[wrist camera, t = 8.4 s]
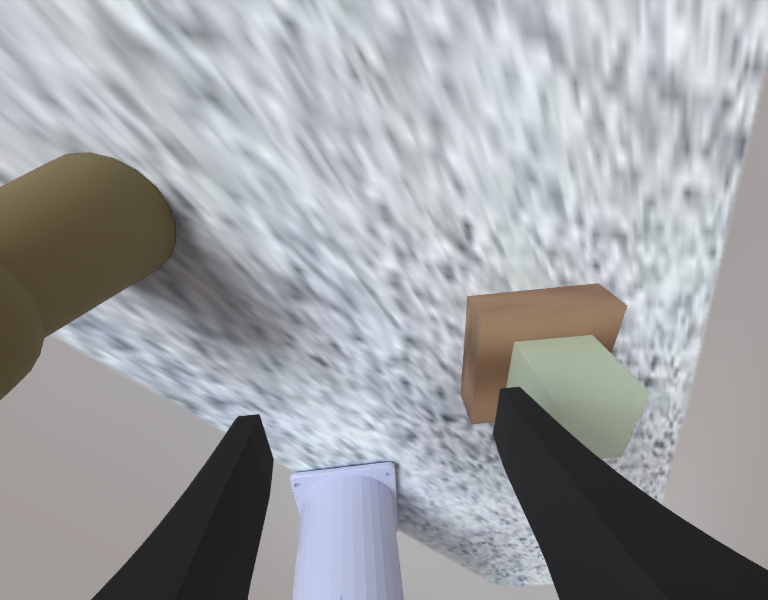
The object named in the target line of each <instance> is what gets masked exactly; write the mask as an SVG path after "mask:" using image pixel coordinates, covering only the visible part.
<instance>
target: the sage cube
mask: <svg viewBox="0 0 768 600" xmlns="http://www.w3.org/2000/svg"><path fill="white" fill-rule="evenodd" d="M510 387H521V388H522V389H523V390H524V391H525V392H526V393H527V394H528V395H529V396H530V397H532V398H533V399H534V400H535V401H536V402H537V403H538V404H539V405H540V406H541V407H542V408H543V409H544V410H545V411H546V412H548V413H549V414H550V415H551V416H552V417H553V418H554V419H555V420H556V421H557V422H558V423H560V424H561V425H562V426H563V427H564V428H565V429H566V430H567V431H568V432H570V433H571V434H572V435H573V436H574V437H575V438H576V439H578V440H579V441H580V442H581V443H582V444H583V445H584V446H586V447H587V448H588V449H589V450H590V451H592V452H593V453H594V454H595V455H596V456H598V457H599V458H600V459H604V458H613V457H621V456H622V455H623V452H624V450H625V448H626V446H627V444H628V441H629V439H630V437H631V435H632V432H633V430H634V428H635V426H636V423H637V421H638V419H639V417H640V414H641V412H642V410H643V408H644V406H645V403H646V401H647V399H648V397H649V394H650V392H649V391H648V390H647V389H646V388H645V387H644V386H643V385H642V384H641V383H640V382H639V381H638V380H637V379H636V378H635V377H634V376H633V375H632V374H631V373H630V372H629V371H628V370H627V369H626V368H625V367H624V366H623V365H622V364H621V363H620V362H619V361H618V360H617V359H616V358H615V357H614V356H613V355H612V354H611V353H610V352H609V351H608V350H607V349H606V348H605V347H604V346H603V345H602V344H601V343H600V342H599V341H598V340H597V339H596V338H595V337H594V336H593V335H584V336H573V337H562V338H551V339H540V340H530V341H519V342H514V346H513V351H512V357H511V363H510V369H509V374H508V380H507V386H506V388H510Z"/></svg>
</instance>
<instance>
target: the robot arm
mask: <svg viewBox="0 0 768 600" xmlns="http://www.w3.org/2000/svg"><path fill="white" fill-rule="evenodd" d="M493 436H494V439H495V442H496V445H497V449H498V452H499V455H500V458H501V461H502V464H503V467H504V469H505V471H506V474H507V476H508V478H509V480H510V483H511V485H512V487H513V489H514V491H515V494H516V496H517V498H518V500H519V502H520V505H521V507H522V509H523V511H524V513H525V516H526V518H527V520H528V522H529V524H530V526H531V529H532V531H533V533H534V535H535V537H536V540H537V542H538V544H539V546H540V549H541V551H542V553H543V556H544V558H545V561H546V563H547V566H548V569H549V572H550V574H551V577H552V580H553V583H554V585H555V588H556V591H557V593H558V597H559V599H560V600H768V570H766V569H765V568H763V567H761V566H759V565H758V564H756V563H754V562H753V561H751V560H749V559H747V558H746V557H744V556H742V555H740V554H739V553H737V552H735V551H733V550H732V549H730V548H729V547H727V546H725V545H724V544H722V543H720V542H719V541H717V540H715V539H714V538H712V537H711V536H709V535H708V534H706V533H704V532H703V531H701V530H699V529H698V528H696V527H695V526H693V525H692V524H690V523H689V522H687V521H685V520H684V519H682V518H681V517H679V516H678V515H676V514H675V513H673V512H672V511H670V510H669V509H667V508H666V507H664V506H663V505H661V504H660V503H659V502H657V501H656V500H654V499H653V498H652V497H650V496H649V495H647V494H646V493H645V492H643V491H642V490H640V489H639V488H638V487H636V486H635V485H633V484H632V483H631V482H629V481H628V480H627V479H625V478H624V477H623V476H621V475H620V474H619V473H617V472H616V471H615V470H614V469H612V468H611V467H610V466H609V465H607V464H606V463H605V462H604V461H602V460H601V459H600V458H599V457H598V456H596V455H595V454H594V453H593V452H592V451H590V450H589V449H588V448H587V447H586V446H584V445H583V444H582V443H581V442H580V441H579V440H578V439H576V438H575V437H574V436H573V435H572V434H571V433H570V432H568V431H567V430H566V429H565V428H564V427H563V426H562V425H561V424H560V423H558V422H557V421H556V420H555V419H554V418H553V417H552V416H551V415H550V414H549V413H548V412H546V411H545V410H544V409H543V408H542V407H541V406H540V405H539V404H538V403H537V402H536V401H535V400H534V399H533V398H532V397H530V396H529V395H528V394H527V393H526V392H525V391H524V390H523V389H522V388H521V387H510V388H501V389H500V392H499V398H498V405H497V411H496V418H495V425H494V431H493ZM273 460H274V459H273V456H272V453H271V449H270V446H269V443H268V440H267V437H266V434H265V430H264V427H263V424H262V421H261V418H260V415H259V414H257V415H247V416H238V417H237V418H236V419H235V421H234V422H233V424H232V425H231V427H230V428H229V430H228V431H227V433H226V434H225V436H224V437H223V439H222V440H221V442H220V443H219V445H218V446H217V447H216V449H215V450H214V452H213V453H212V455H211V456H210V458H209V459H208V460H207V462H206V463H205V465H204V466H203V467H202V469H201V470H200V472H199V473H198V474H197V476H196V477H195V478H194V480H193V481H192V482H191V484H190V485H189V487H188V488H187V489H186V491H185V492H184V493H183V495H182V496H181V497H180V499H179V500H178V501H177V502H176V503H175V505H174V506H173V507H172V508H171V510H170V511H169V512H168V514H167V515H166V516H165V517H164V519H163V520H162V521H161V522H160V524H159V525H158V526H157V527H156V529H155V530H154V531H153V532H152V533H151V534H150V536H149V537H148V538H147V539H146V540H145V542H144V543H143V544H142V545H141V546H140V547H139V549H138V550H137V551H136V552H135V553H134V554H133V555H132V556H131V557H130V559H129V560H128V561H127V562H126V563H125V564H124V565H123V566H122V568H121V569H120V570H119V571H118V572H117V573H116V574H115V575H114V576H113V577H112V578H111V579H110V580H109V581H108V582H107V584H106V585H105V586H104V587H103V588H102V589H101V590H100V591H99V592H98V593H97V594H96V595H95V596H94V597H93V598H92V599H91V600H248V594H249V588H250V583H251V579H252V574H253V570H254V564H255V561H256V556H257V552H258V547H259V543H260V538H261V533H262V529H263V524H264V520H265V515H266V511H267V506H268V501H269V497H270V489H271V480H272V470H273ZM290 484H291V487H292V490H293V493H294V497H295V500H296V504H297V507H298V511H299V514H300V517H301V518H300V529H299V539H298V548H297V558H296V568H295V578H294V588H293V598H292V600H404V598H403V589H402V581H401V573H400V563H399V555H398V546H397V538H396V532H397V531H398V514H397V495H396V476H395V465H394V464H393V463H392V462H384V463H375V464H367V465H358V466H349V467H341V468H332V469H323V470H315V471H306V472H298V473H293V474H292V475H291V476H290Z"/></svg>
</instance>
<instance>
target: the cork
mask: <svg viewBox="0 0 768 600" xmlns="http://www.w3.org/2000/svg"><path fill="white" fill-rule="evenodd" d="M175 243H176V224H175V221H174V218H173V216H172V213H171V210H170V207H169V205H168V203H167V202H166V200H165V199H164V198H163V196H162V195H161V193H160V192H159V191H158V189H157V188H156V186H154V185H153V184H152V183H151V182H150V181H149V180H148V179H146V178H145V177H144V176H143V175H142V174H141V173H139V172H138V171H137V170H136V169H134V168H132V167H130V166H128V165H126V164H124V163H122V162H120V161H118V160H116V159H114V158H111V157H107V156H102V155H98V154H94V153H90V152H88V153H73V154H65V155H63V156H61V157H59V158H57V159H55V160H53V161H51V162H48V163H46V164H44V165H42V166H41V167H39V168H37V169H35V170H33V171H31V172H29V173H27V174H25V175H23V176H21V177H19V178H17V179H15V180H13V181H11V182H9V183H7V184H5V185H3V186H1V187H0V400H1V399H2V398H3V397H4V396H5V395H6V394H8V393H9V392H10V391H11V390H12V389H13V388H14V387H15V386H16V385H17V384H18V383H19V382H20V381H21V380H22V379H23V378H24V377H25V376H26V375H27V374H28V373H29V372H30V371H31V370H32V368H33V366H34V364H35V363H36V361H37V359H38V357H39V355H40V353H41V349H42V345H43V341H44V338H45V337H46V336H49V335H50V334H52V333H53V332H55V331H57V330H58V329H60V328H62V327H63V326H65V325H67V324H68V323H70V322H71V321H73V320H75V319H76V318H78V317H80V316H81V315H83V314H85V313H86V312H88V311H90V310H91V309H93V308H94V307H96V306H98V305H99V304H101V303H103V302H104V301H106V300H108V299H109V298H111V297H113V296H114V295H116V294H117V293H119V292H121V291H122V290H124V289H126V288H127V287H129V286H131V285H132V284H134V283H136V282H137V281H139V280H140V279H142V278H144V277H145V276H147V275H149V274H150V273H152V272H154V271H155V270H157V269H158V268H159V267H160V266H162V265H163V264H164V263H165V262H166V261H167V260H168V259H169V258H170V256H171V253H172V251H173V248H174V246H175Z"/></svg>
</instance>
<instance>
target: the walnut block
mask: <svg viewBox="0 0 768 600" xmlns="http://www.w3.org/2000/svg"><path fill="white" fill-rule="evenodd" d="M626 308H627V305H626V304H624V303H623V302H622V301H620V300H619V299H618V298H617V297H615V296H614V295H613V294H611V293H610V292H609V291H608V290H606V289H605V288H604V287H602V286H601V285H600V284H599V283H597V284H587V285H577V286H567V287H557V288H547V289H537V290H526V291H516V292H506V293H496V294H486V295H476V296H467V310H466V325H465V340H464V355H463V370H462V385H461V397H462V400H463V403H464V405H465V408H466V411H467V413H468V416H469V419H470V421H471V424H478V423H487V422H495V418H496V411H497V405H498V398H499V392H500V389H501V388H506V386H507V380H508V374H509V369H510V363H511V357H512V351H513V346H514V342H519V341H530V340H540V339H551V338H562V337H573V336H584V335H593V336H594V337H595V338H596V339H597V340H598V341H599V342H600V343H601V344H602V345H603V346H604V347H605V348H606V349H607V350H608V351H609V352H610V353H612V350H613V347H614V344H615V341H616V338H617V335H618V332H619V329H620V326H621V323H622V320H623V317H624V314H625V311H626Z"/></svg>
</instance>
